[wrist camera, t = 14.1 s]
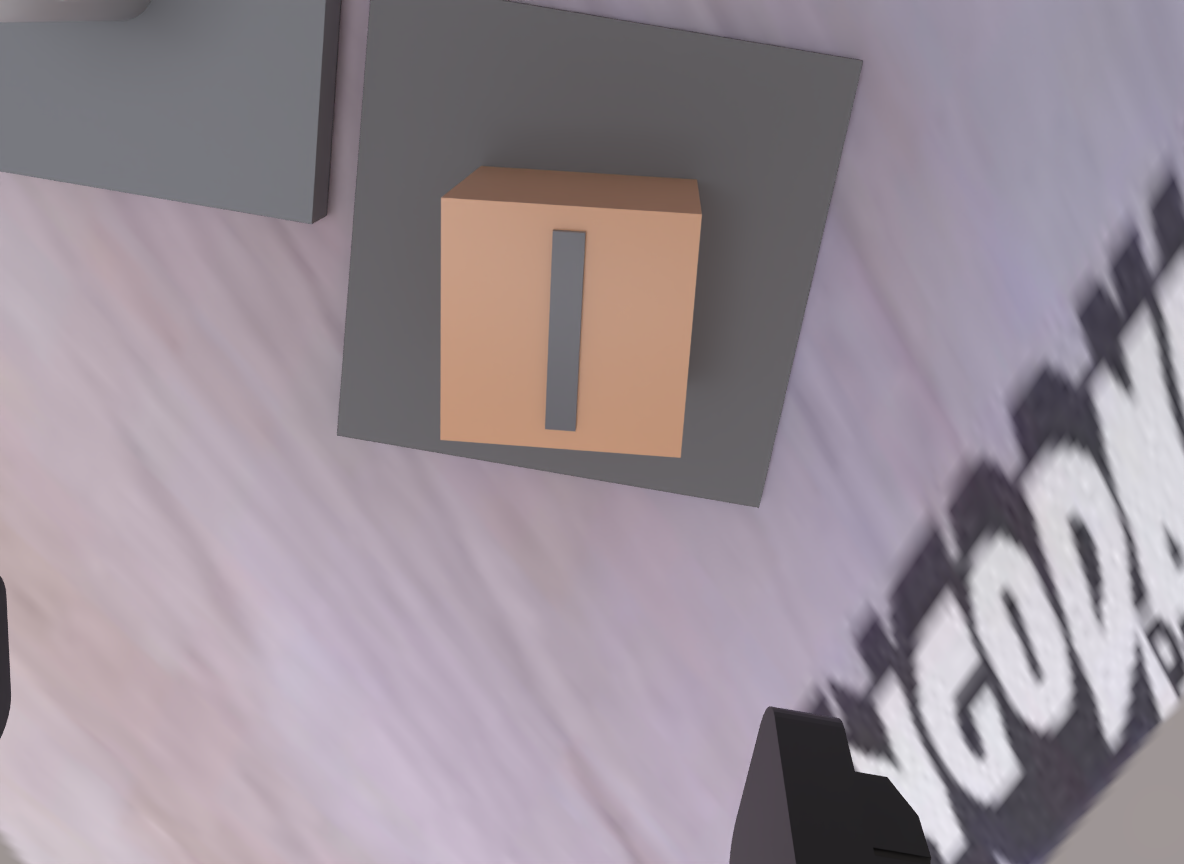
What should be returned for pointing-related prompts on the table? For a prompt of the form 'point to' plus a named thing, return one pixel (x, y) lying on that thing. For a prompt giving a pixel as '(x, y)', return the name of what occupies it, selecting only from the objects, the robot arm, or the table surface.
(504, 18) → the rubber mat
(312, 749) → the table surface
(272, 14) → the grey peg stand
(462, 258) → the tan cube
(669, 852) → the table surface
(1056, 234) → the table surface
